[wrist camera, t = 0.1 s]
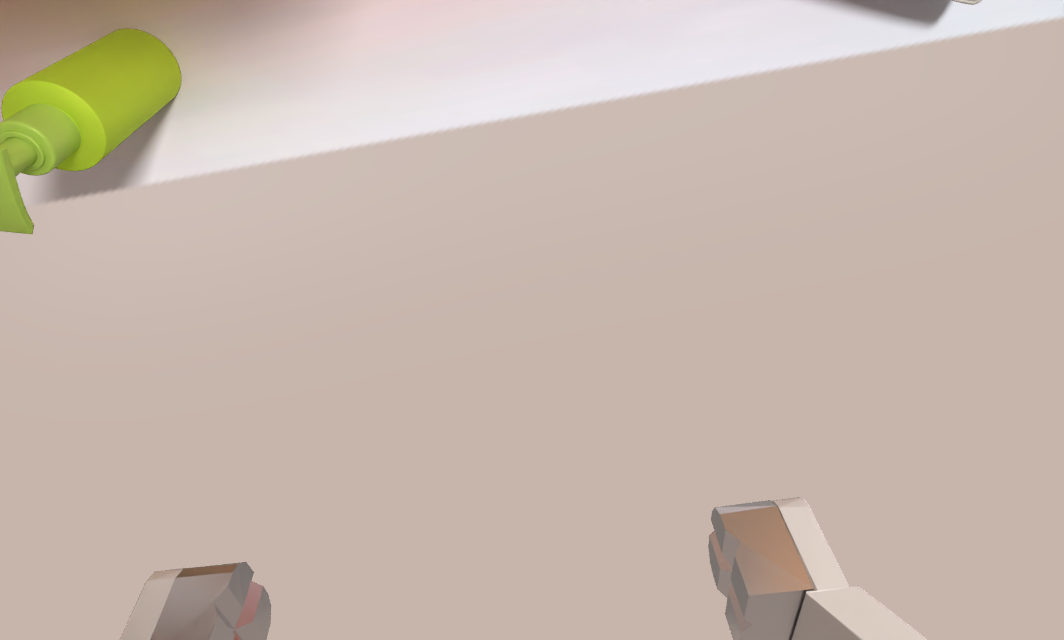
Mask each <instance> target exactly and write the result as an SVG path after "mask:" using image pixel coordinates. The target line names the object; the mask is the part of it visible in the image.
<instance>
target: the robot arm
mask: <svg viewBox="0 0 1064 640" xmlns="http://www.w3.org/2000/svg"><path fill="white" fill-rule="evenodd" d="M711 521H712V524H713V527H714V531H713V532H712V533H711V534H710V535H709V556H710V564H711V568H712V572H713V576H714V579H715V583H716V586H717V589H718V590H719V591H720V592H721V593H722V594H724V595H725V596H726V597H727V606H726V612H725V615H726V618H727V621H728V624H729V628H730V630H731V634H732V637H733V640H928V639H926V638H925V637H924V636H922V635H921V634H920V633H918V632H917V631H916V630H915V629H913V628H912V627H911V626H910V625H908V624H907V623H906V622H904V621H903V620H902V619H901V618H899V617H898V616H897V615H895V614H894V613H893V612H891V611H890V610H889V609H888V608H886V607H885V606H883V605H882V604H881V603H880V602H879V601H877V600H876V599H875V598H873V597H872V596H871V595H870V594H868V593H867V592H866V591H864V590H863V589H862V588H861V587H859V586H849V585H848V583H847V581H846V579H845V577H844V575H843V573H842V571H841V569H840V567H839V565H838V563H837V561H836V559H835V557H834V555H833V553H832V551H831V549H830V547H829V545H828V543H827V541H826V539H825V537H824V535H823V533H822V531H821V529H820V527H819V525H818V523H817V520H816V518H815V516H814V514H813V512H812V510H811V508H810V506H809V505H808V503H807V502H806V501H805V500H804V499H803V498H800V497H797V498H790V499H782V500H775V501H770V500H768V501H761V502H753V503H745V504H738V505H730V506H723V507H715V508H714V509H713V511H712V517H711ZM253 573H254V572H253V571H252V569H251V568H250V567H249V565H248V564H247V563H246V562H242V563H233V564H223V565H214V566H206V567H195V568H183V569H174V570H165V571H158V572H154V573H153V575H152V576H151V577H150V578H149V579H148V580H147V581H146V583H145V585H144V587H143V589H142V592H141V594H140V596H139V598H138V600H137V603H136V605H135V607H134V609H133V611H132V614H131V616H130V618H129V620H128V623H127V625H126V627H125V629H124V631H123V633H122V636H121V638H120V640H266V639H267V635H268V631H269V627H270V620H271V604H270V600H269V596H268V593H267V592H266V590H265V588H264V587H263V586H261V585H259V584H257V583H255V582H253V581H251V580H252V577H253Z"/></svg>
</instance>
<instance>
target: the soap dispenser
mask: <svg viewBox="0 0 1064 640" xmlns="http://www.w3.org/2000/svg"><path fill="white" fill-rule="evenodd" d="M180 85H181V72H180V68H179V65H178V63H177V61H176V59H175V57H174V56H173V54H172V53H171V51H170V50H169V49H168V48H167V47H166V46H165V45H164V44H163V43H162V42H161V41H160V40H158V39H157V38H155V37H154V36H152V35H150V34H148V33H146V32H143V31H140V30H136V29H120V30H117V31H114V32H112V33H110V34H109V35H107V36H105V37H103V38H101V39H99V40H97V41H96V42H94V43H92V44H90V45H88V46H86V47H84V48H82V49H81V50H79V51H77V52H75V53H73V54H71V55H69V56H68V57H66V58H64V59H62V60H60V61H58V62H56V63H54V64H53V65H51V66H49V67H47V68H45V69H43V70H41V71H40V72H38V73H36V74H34V75H32V76H30V77H28V78H26V79H25V80H23V81H21V82H19V83H17V84H15V85H14V86H12V87H11V88H10V89H9V90H8V91H7V92H6V94H5V96H4V98H3V101H2V117H3V120H4V121H2V122H1V123H0V231H5V232H15V233H25V234H32V233H33V228H34V225H33V223H32V220H31V219H30V217H29V215H28V213H27V210H26V208H25V206H24V203H23V200H22V197H21V194H20V191H19V188H18V184H17V181H16V178H15V176H17V175H18V174H19V173H24V174H27V175H43V174H46V173H48V172H50V171H51V170H53V169H54V168H57V169H61V170H67V171H80V170H85V169H88V168H91V167H93V166H94V165H96V164H97V163H98V162H99V161H101V160H102V159H103V158H104V157H105V156H106V155H108V154H109V153H110V152H111V151H112V150H113V149H115V148H116V147H117V146H118V145H119V144H120V143H122V142H123V141H124V140H125V139H126V138H128V137H129V136H130V135H131V134H132V133H133V132H135V131H136V130H137V129H138V128H139V127H140V126H142V125H143V124H144V123H145V122H146V121H147V120H149V119H150V118H151V117H152V116H153V115H154V114H156V113H157V112H158V111H159V110H160V109H161V108H163V107H164V106H165V105H166V104H167V103H168V102H170V101H171V100H172V99H173V98H174V97H175V96H176V95H177V93H178V91H179V89H180Z"/></svg>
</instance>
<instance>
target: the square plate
mask: <svg viewBox="0 0 1064 640" xmlns="http://www.w3.org/2000/svg"><path fill="white" fill-rule="evenodd" d="M952 1H956V2H960V3H964V4H971V5H974V4H977V3H979V2H981V1H982V0H952Z"/></svg>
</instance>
